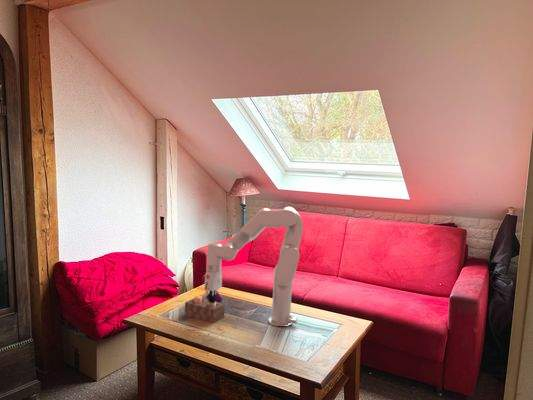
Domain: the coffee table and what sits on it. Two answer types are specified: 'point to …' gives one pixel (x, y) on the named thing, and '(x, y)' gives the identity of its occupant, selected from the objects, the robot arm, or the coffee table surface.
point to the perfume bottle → (218, 298)
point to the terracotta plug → (198, 299)
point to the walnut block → (204, 310)
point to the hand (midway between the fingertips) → (211, 302)
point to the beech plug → (212, 304)
